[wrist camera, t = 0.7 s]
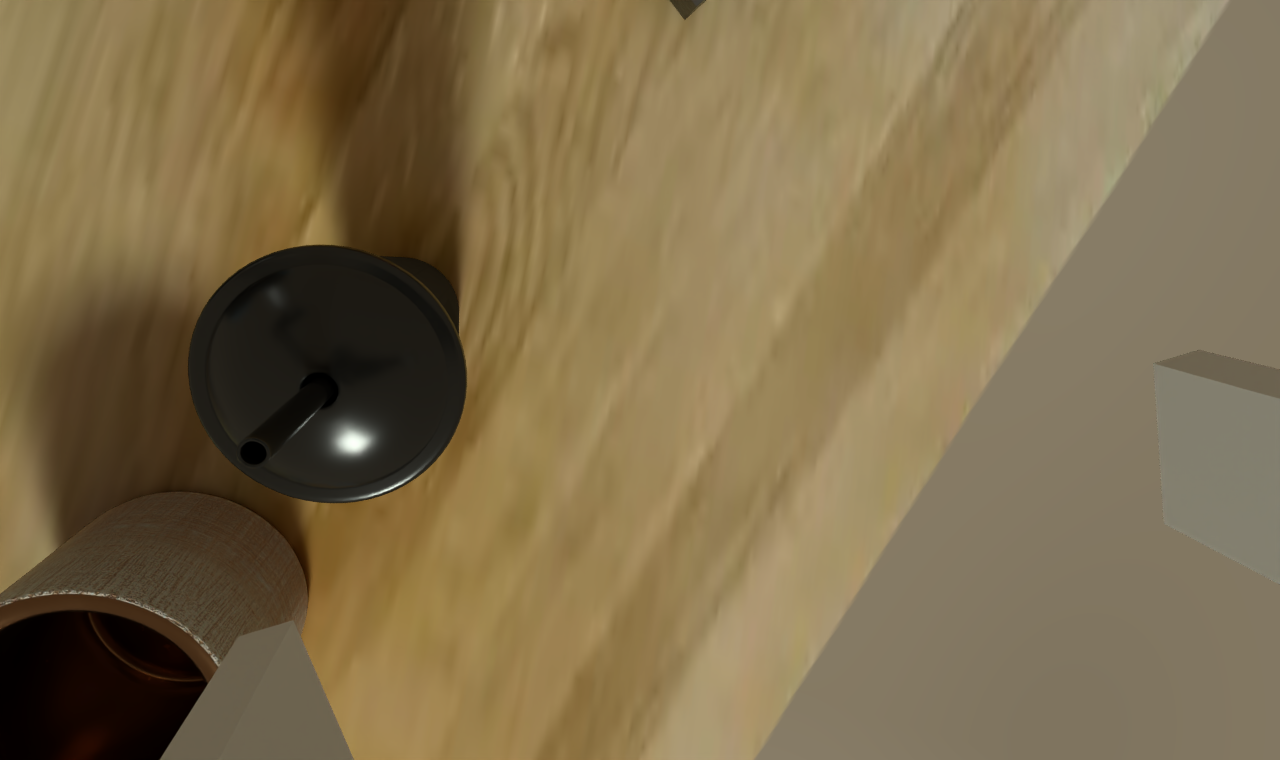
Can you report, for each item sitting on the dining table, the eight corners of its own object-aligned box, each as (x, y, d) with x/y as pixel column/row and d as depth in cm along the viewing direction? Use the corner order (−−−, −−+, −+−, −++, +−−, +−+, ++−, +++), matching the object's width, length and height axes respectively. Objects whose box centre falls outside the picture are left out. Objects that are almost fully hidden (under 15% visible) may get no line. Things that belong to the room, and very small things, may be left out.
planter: (359, 579, 38) (304, 703, 29) (216, 728, 39) (119, 896, 30) (168, 439, 35) (39, 528, 26) (19, 604, 36) (-158, 746, 27)
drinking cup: (371, 190, 34) (160, 189, 14) (520, 285, 36) (510, 395, 16) (285, 334, 35) (-21, 514, 15) (435, 419, 36) (330, 674, 17)
